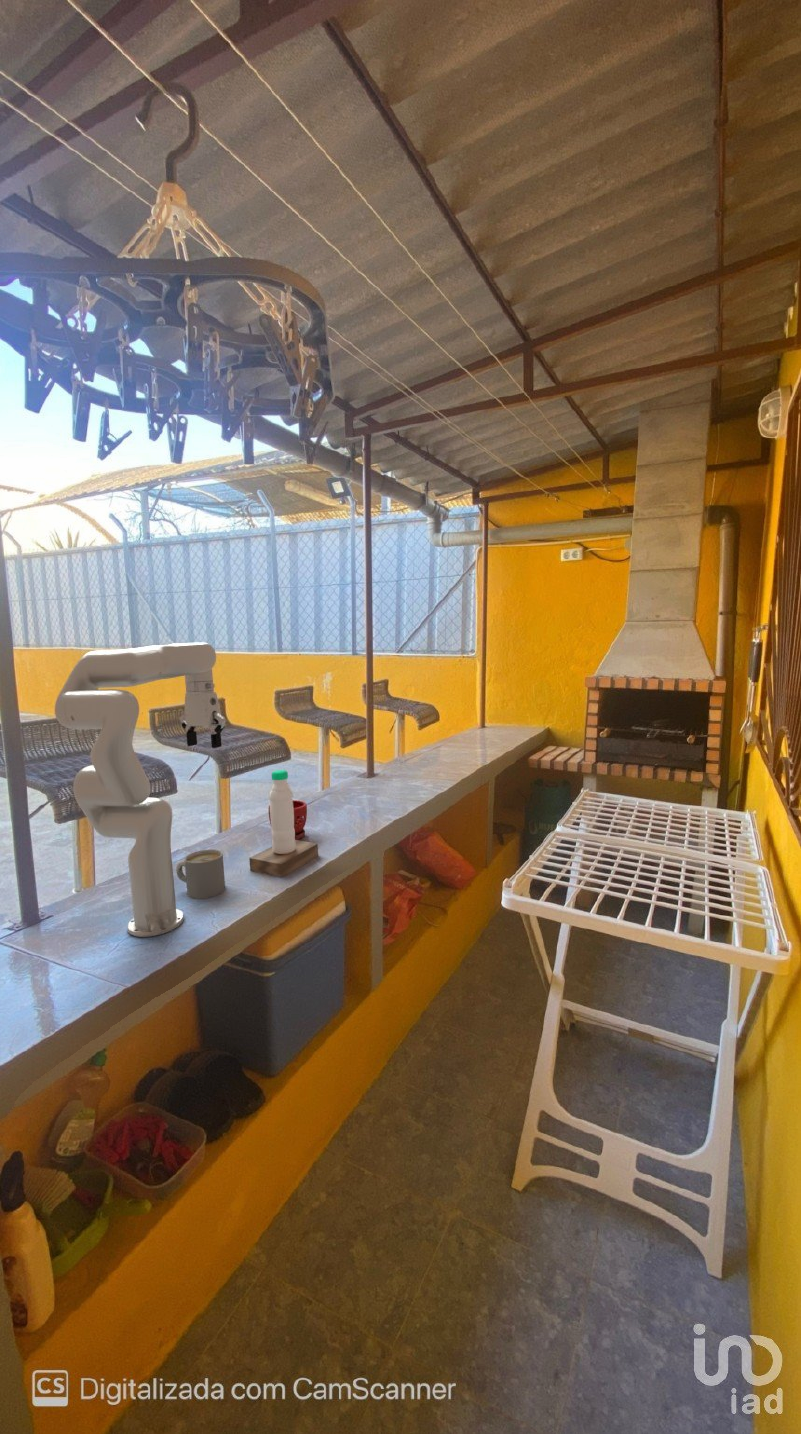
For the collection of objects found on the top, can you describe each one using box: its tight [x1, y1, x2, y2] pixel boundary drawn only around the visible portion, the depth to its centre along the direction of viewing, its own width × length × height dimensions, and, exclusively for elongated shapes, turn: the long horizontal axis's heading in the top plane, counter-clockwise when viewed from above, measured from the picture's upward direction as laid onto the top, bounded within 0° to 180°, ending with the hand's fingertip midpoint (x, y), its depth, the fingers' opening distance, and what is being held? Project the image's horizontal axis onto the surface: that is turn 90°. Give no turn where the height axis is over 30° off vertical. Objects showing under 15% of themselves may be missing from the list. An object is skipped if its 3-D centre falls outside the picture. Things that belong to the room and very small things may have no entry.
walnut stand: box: [248, 839, 319, 878], centre depth 173 cm, size 12×18×4 cm, turn 153°
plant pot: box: [268, 799, 308, 840], centre depth 196 cm, size 13×13×12 cm
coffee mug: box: [176, 849, 226, 899], centre depth 155 cm, size 13×10×10 cm
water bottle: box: [268, 769, 296, 854], centre depth 170 cm, size 7×7×25 cm
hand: (204, 746), depth 162 cm, fingers open, 9 cm apart
